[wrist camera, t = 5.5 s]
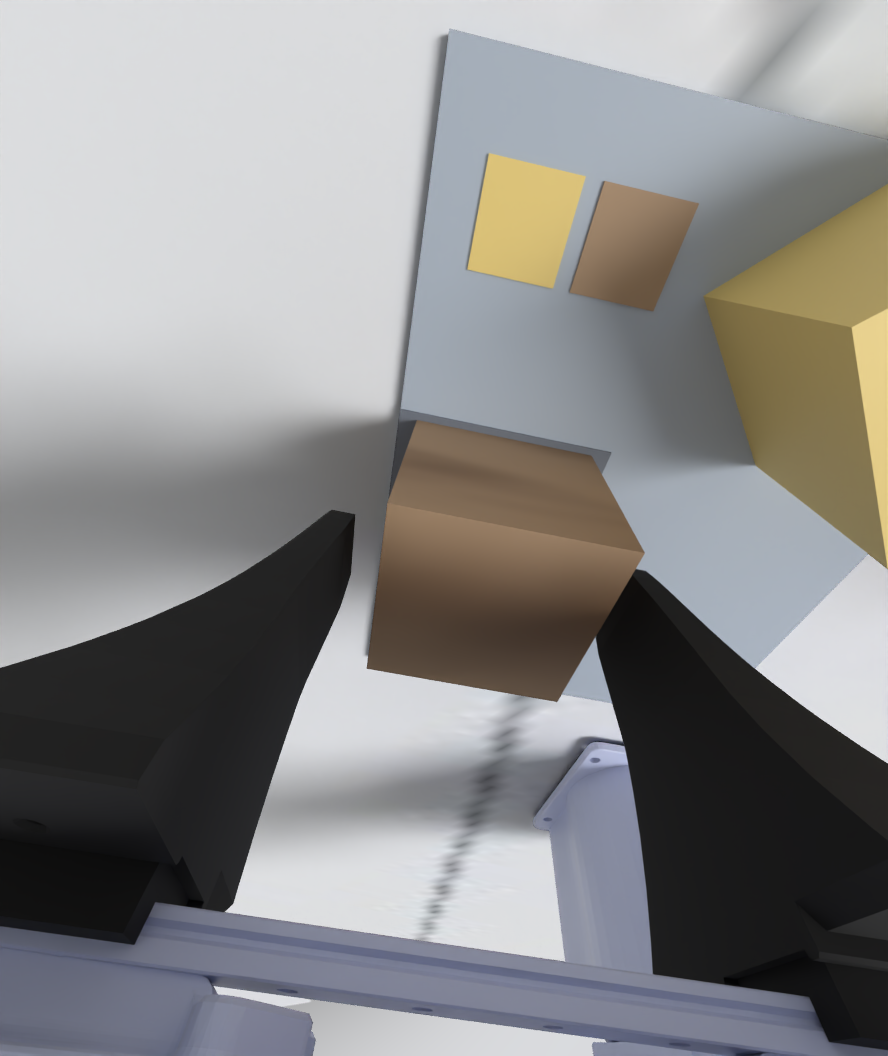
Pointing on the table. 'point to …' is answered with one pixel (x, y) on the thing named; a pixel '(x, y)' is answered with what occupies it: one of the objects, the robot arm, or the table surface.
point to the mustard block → (817, 367)
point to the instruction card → (625, 309)
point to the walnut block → (496, 563)
